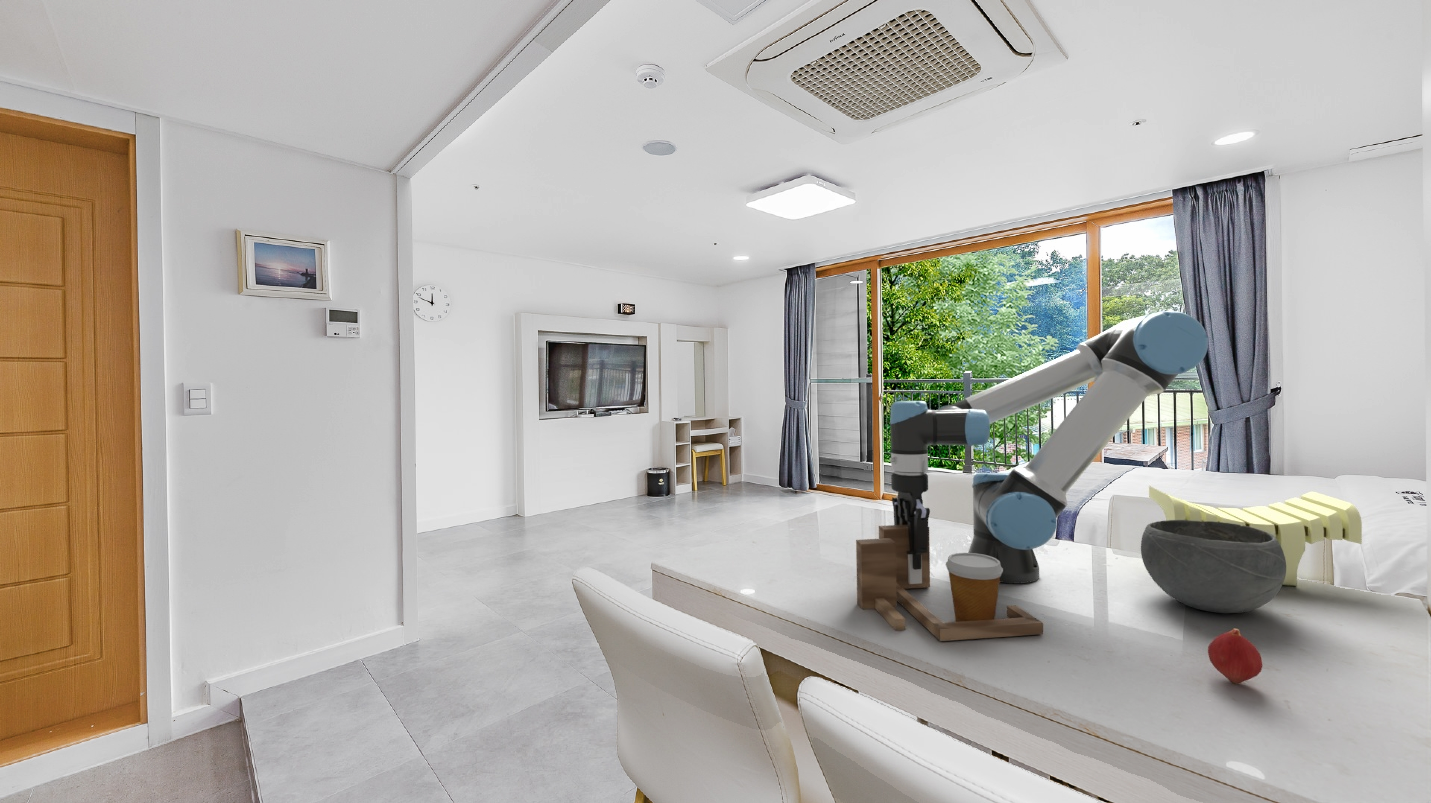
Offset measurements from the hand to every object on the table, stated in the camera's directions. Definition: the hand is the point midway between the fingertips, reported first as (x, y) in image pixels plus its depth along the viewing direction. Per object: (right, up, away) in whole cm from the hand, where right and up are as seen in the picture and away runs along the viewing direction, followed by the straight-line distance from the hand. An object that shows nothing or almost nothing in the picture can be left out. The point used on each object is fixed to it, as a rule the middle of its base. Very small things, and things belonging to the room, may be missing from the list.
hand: (911, 579), depth 123 cm
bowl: (+52, -1, -14) cm, 54 cm away
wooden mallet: (-10, -2, -14) cm, 17 cm away
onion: (+33, -2, -41) cm, 52 cm away
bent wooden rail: (+4, -2, -12) cm, 13 cm away
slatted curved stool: (+74, 0, +2) cm, 74 cm away
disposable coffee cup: (+5, -2, -19) cm, 20 cm away
